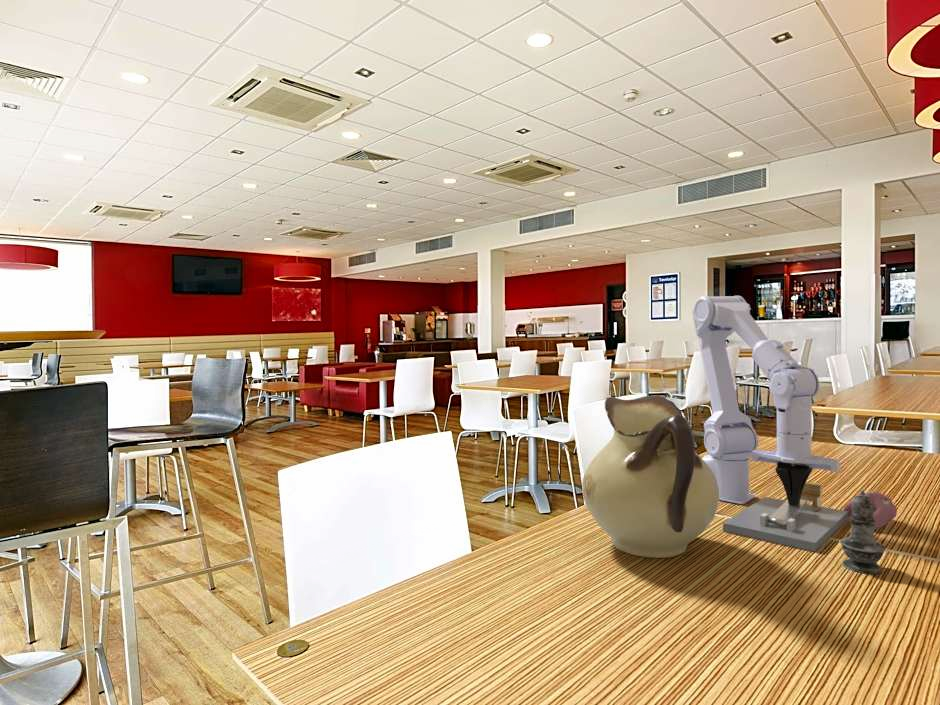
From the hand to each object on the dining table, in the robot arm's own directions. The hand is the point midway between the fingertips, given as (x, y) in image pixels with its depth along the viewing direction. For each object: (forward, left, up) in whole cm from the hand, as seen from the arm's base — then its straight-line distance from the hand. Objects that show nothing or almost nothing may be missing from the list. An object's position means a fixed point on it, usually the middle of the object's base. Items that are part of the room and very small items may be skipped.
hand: (794, 503), depth 111 cm
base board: (0, -2, -4) cm, 4 cm away
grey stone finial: (+14, -15, -4) cm, 21 cm away
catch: (0, +6, -2) cm, 7 cm away
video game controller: (+10, +9, -4) cm, 14 cm away
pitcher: (-14, -28, -4) cm, 32 cm away
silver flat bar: (0, -3, -1) cm, 4 cm away
